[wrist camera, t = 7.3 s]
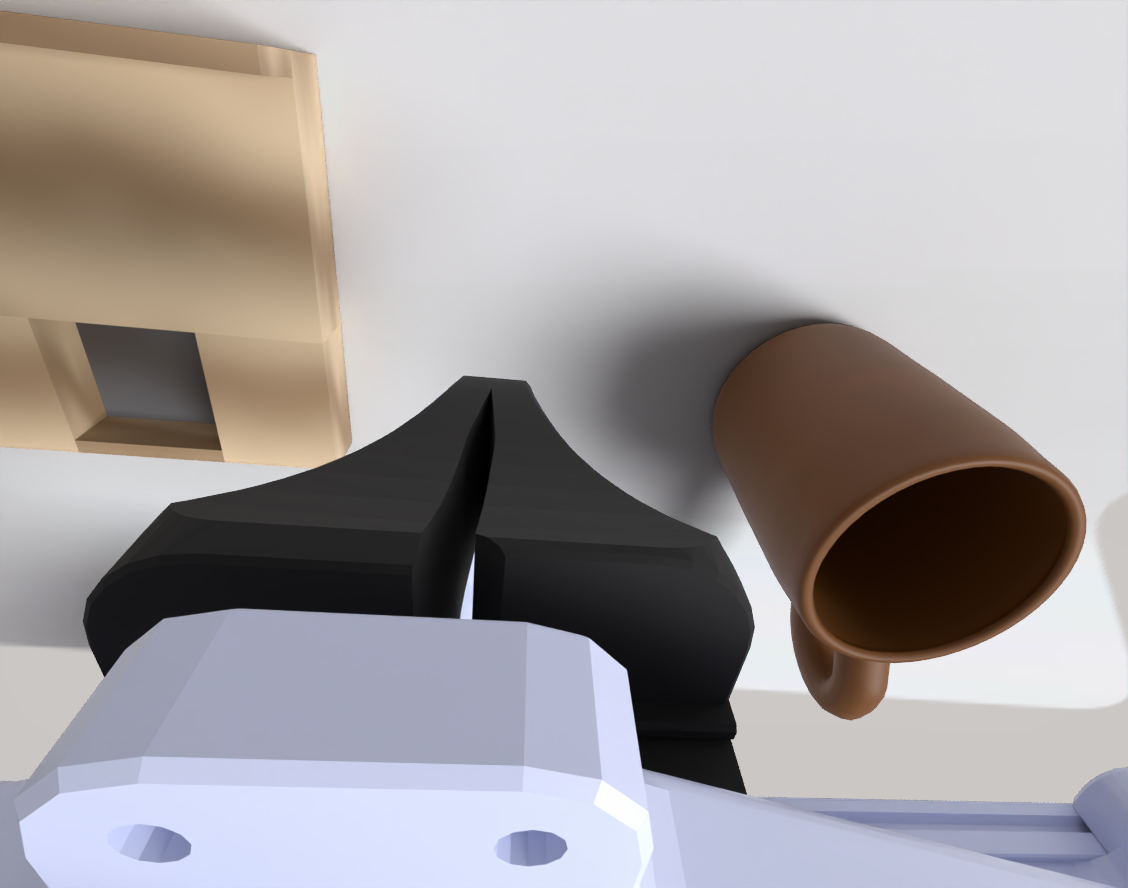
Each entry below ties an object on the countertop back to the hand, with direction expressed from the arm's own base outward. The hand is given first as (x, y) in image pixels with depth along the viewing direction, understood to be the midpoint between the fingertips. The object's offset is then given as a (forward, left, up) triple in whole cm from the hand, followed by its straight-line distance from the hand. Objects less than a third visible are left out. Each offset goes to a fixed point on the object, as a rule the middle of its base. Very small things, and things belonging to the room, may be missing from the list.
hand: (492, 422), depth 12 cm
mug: (-6, -12, -10) cm, 17 cm away
